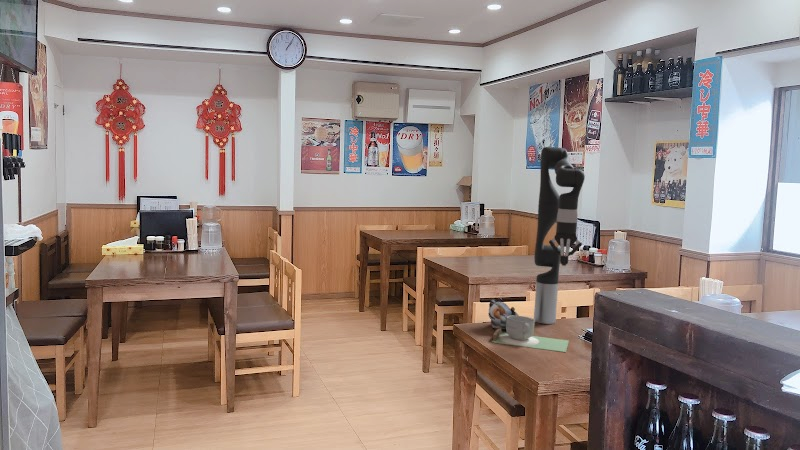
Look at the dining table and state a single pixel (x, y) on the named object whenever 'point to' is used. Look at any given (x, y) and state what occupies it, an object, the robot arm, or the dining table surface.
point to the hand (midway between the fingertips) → (563, 265)
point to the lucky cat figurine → (500, 314)
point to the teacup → (519, 327)
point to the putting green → (531, 342)
